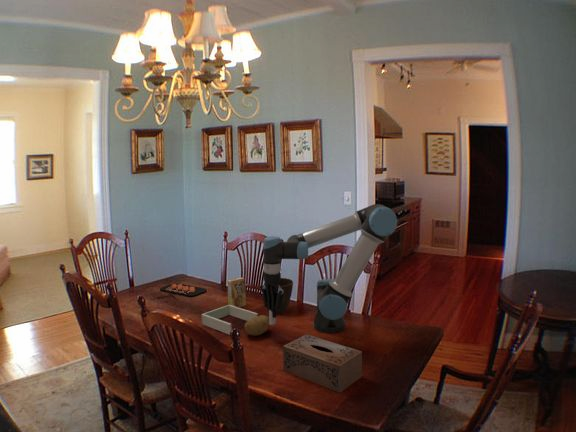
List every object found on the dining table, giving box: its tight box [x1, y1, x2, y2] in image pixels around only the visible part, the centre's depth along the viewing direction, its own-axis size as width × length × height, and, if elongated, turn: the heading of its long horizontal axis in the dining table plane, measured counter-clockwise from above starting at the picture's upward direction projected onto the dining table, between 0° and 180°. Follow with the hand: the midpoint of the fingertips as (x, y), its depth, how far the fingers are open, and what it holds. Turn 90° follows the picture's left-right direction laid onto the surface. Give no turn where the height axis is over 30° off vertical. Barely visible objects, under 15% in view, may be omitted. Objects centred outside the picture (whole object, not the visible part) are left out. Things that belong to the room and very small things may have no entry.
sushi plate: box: [152, 282, 208, 300], centre depth 263 cm, size 29×30×4 cm
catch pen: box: [200, 304, 259, 336], centre depth 215 cm, size 21×18×5 cm
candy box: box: [227, 277, 247, 308], centre depth 239 cm, size 9×4×15 cm, turn 129°
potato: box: [244, 314, 270, 337], centre depth 202 cm, size 10×14×8 cm
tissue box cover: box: [282, 333, 363, 394], centre depth 165 cm, size 26×14×10 cm, turn 50°
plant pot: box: [277, 277, 294, 315], centre depth 231 cm, size 15×15×16 cm
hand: (272, 323), depth 195 cm, fingers closed
